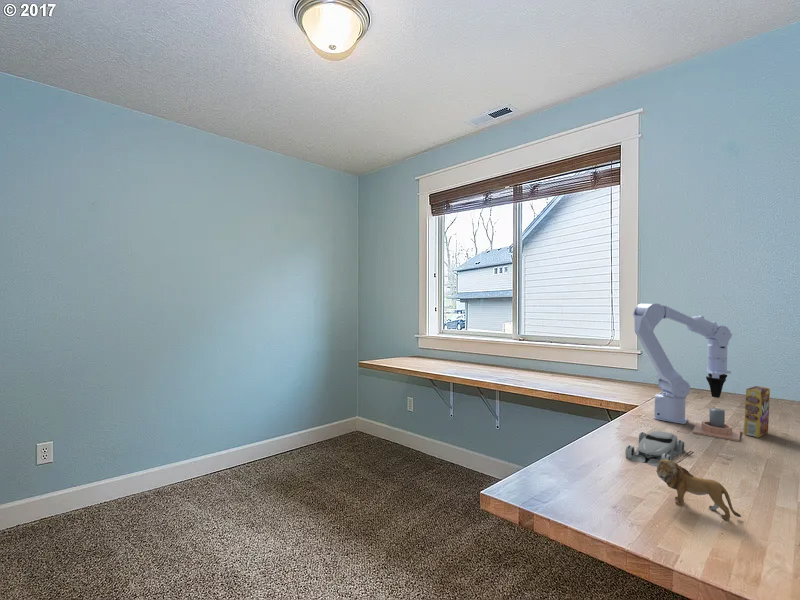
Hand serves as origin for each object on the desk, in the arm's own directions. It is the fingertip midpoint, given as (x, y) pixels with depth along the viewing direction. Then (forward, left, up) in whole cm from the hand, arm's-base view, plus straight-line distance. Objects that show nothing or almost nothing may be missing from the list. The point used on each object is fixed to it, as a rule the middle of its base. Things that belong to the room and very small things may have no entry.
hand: (716, 395), depth 151 cm
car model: (-11, -50, -10) cm, 52 cm away
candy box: (+11, -9, -10) cm, 17 cm away
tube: (+1, -16, -9) cm, 18 cm away
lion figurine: (0, -81, -10) cm, 82 cm away
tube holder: (+1, -16, -9) cm, 19 cm away
